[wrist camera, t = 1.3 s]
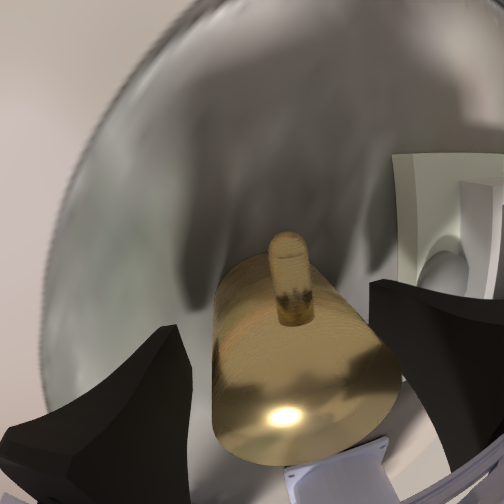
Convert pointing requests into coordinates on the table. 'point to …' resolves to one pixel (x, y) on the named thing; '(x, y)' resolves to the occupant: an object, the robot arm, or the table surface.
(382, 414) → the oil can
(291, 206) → the table surface
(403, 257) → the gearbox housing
